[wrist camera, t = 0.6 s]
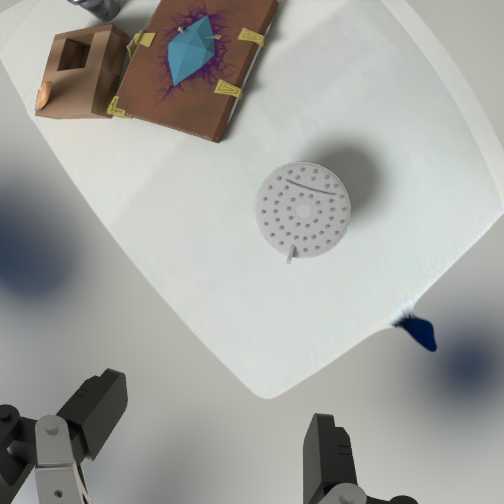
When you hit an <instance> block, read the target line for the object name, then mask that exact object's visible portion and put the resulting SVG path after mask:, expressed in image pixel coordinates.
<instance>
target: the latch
mask: <svg viewBox="0 0 504 504" xmlns="http://www.w3.org/2000/svg"><path fill="white" fill-rule="evenodd" d="M51 85H52V81H45V82H44V84H43V85H42V87H41V89H40V90H39V91H38V95H37V100H36V105H35V111H41V110H42V107H43V106H44V105H45V104H46V102H47V101H48V98H49V94H50V90H51Z"/></svg>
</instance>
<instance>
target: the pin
mask: <svg viewBox="0 0 504 504" xmlns="http://www.w3.org/2000/svg"><path fill="white" fill-rule="evenodd" d="M67 1H69V2H70V3H72V4H73V5H80V6H81V7H83V8H84V9H85V10H87V11H88V12H90V13H91V14H93V15H94V16H95V17H97V18H98V19H100V20H101V21H103V22H107V21H110V20H112V19H113V18H115V17H116V16H117V14H118V13H119V11H120V5H119V4H118V3H117V2H116V1H114V0H67Z"/></svg>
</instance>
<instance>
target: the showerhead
mask: <svg viewBox="0 0 504 504" xmlns="http://www.w3.org/2000/svg"><path fill="white" fill-rule="evenodd" d="M254 214H255V221H256V224H257V227H258V230H259V232H260V233H261V235H262V237H263V238H264V239H265V241H266V242H267V243H268V244H269V245H270V246H271V247H272V248H274V249H275V250H277V251H278V252H280V253H282V254H284V255H287V256H288V259H287V263H288V264H290V262H291V259H292V257H295V258H310V257H315V256H318V255H321V254H323V253H325V252H327V251H329V250H330V249H332V248H333V247H334V246H335V245H336V244H337V243H338V242H339V241H340V240H341V239H342V237H343V236H344V234H345V232H346V230H347V228H348V225H349V221H350V216H351V204H350V199H349V195H348V192H347V190H346V188H345V186H344V184H343V183H342V182H341V180H340V179H339V178H338V177H337V176H336V175H335V174H334V173H333V172H332V171H330V170H329V169H327V168H325V167H323V166H321V165H319V164H316V163H311V162H293V163H289V164H286V165H283V166H281V167H279V168H278V169H276V170H274V171H273V172H272V173H271V174H270V175H269V176H267V178H266V179H265V180H264V181H263V183H262V184H261V186H260V188H259V190H258V192H257V195H256V199H255V205H254Z"/></svg>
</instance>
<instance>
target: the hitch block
mask: <svg viewBox="0 0 504 504" xmlns="http://www.w3.org/2000/svg"><path fill="white" fill-rule="evenodd" d="M129 38H130V37H129V36H128V35H127V34H125V33H124V32H123V31H121V30H120V29H119V28H118V27H116V26H115V25H114V24H109V25H102V26H96V27H90V28H85V29H80V30H75V31H70V32H65V33H61V34H57V35H55V37H54V41H53V44H52V47H51V50H50V54H49V57H48V61H47V65H46V68H45V72H44V76H43V80H42V85H43V84H44V82H45V81H52V85H51V90H50V94H49V98H48V101H47V102H46V104H45V105H44V106H43V107H42V110H41V111H36V114H35V116H40V117H47V118H53V119H81V118H111V116H112V115H111V114H107V111H108V107H109V105H110V103H111V101H112V100H113V98H114V96H116V91H117V86H118V82H119V77H120V73H121V69H122V65H123V61H124V57H125V53H126V49H127V47H126V46H127V45H128V42H129ZM85 48H90V51H89V54H88V58H87V62H86V66H85V68H80V66H81V62H82V58H83V55H84V51H85ZM42 85H41V87H42Z"/></svg>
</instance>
